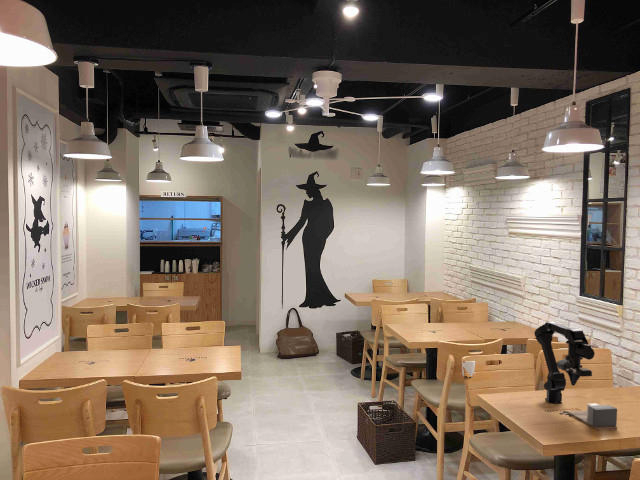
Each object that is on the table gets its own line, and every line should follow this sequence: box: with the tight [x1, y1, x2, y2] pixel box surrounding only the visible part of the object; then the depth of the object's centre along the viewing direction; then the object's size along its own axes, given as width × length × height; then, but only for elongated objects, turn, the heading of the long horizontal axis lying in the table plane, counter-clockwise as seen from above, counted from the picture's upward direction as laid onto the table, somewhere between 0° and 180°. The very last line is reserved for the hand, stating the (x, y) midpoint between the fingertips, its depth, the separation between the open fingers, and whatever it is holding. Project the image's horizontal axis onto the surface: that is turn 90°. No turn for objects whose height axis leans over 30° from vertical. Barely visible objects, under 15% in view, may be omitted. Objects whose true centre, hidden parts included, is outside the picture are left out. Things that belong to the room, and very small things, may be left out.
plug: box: [586, 402, 600, 419], centre depth 238 cm, size 6×5×7 cm
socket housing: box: [588, 404, 618, 427], centre depth 235 cm, size 5×11×8 cm, turn 102°
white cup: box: [461, 360, 476, 377], centre depth 310 cm, size 8×8×10 cm
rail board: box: [566, 410, 618, 431], centre depth 241 cm, size 20×10×1 cm, turn 12°
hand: (573, 385), depth 254 cm, fingers closed
